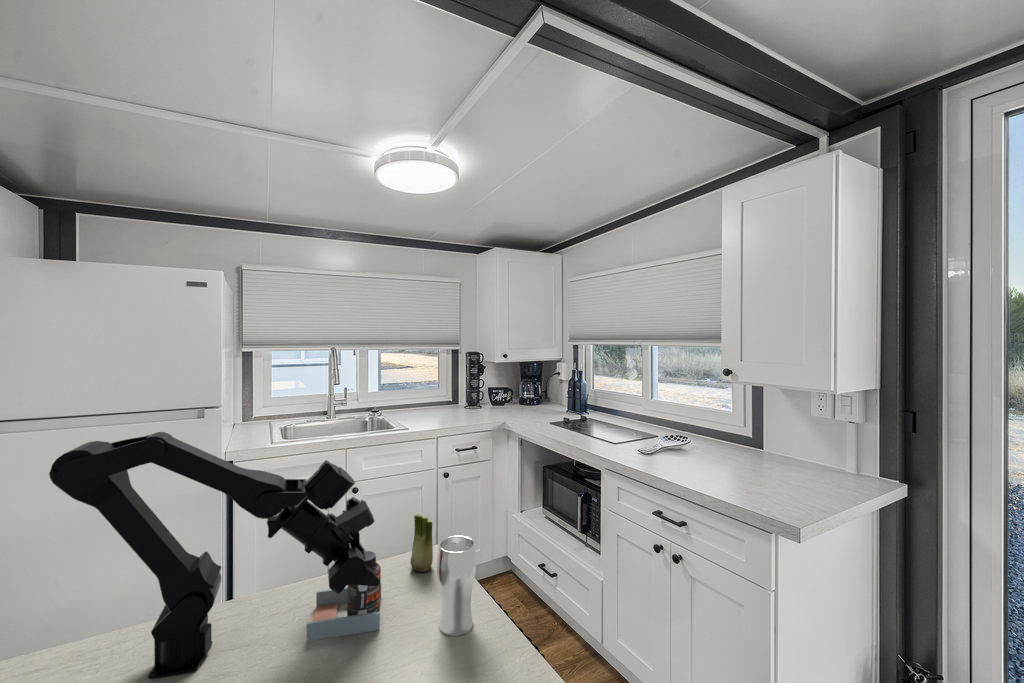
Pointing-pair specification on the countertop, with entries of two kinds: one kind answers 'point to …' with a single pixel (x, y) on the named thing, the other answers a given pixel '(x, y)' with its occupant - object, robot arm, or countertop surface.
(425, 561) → the fennel bulb
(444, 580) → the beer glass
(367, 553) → the supplement bottle
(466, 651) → the countertop surface
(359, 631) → the channel
